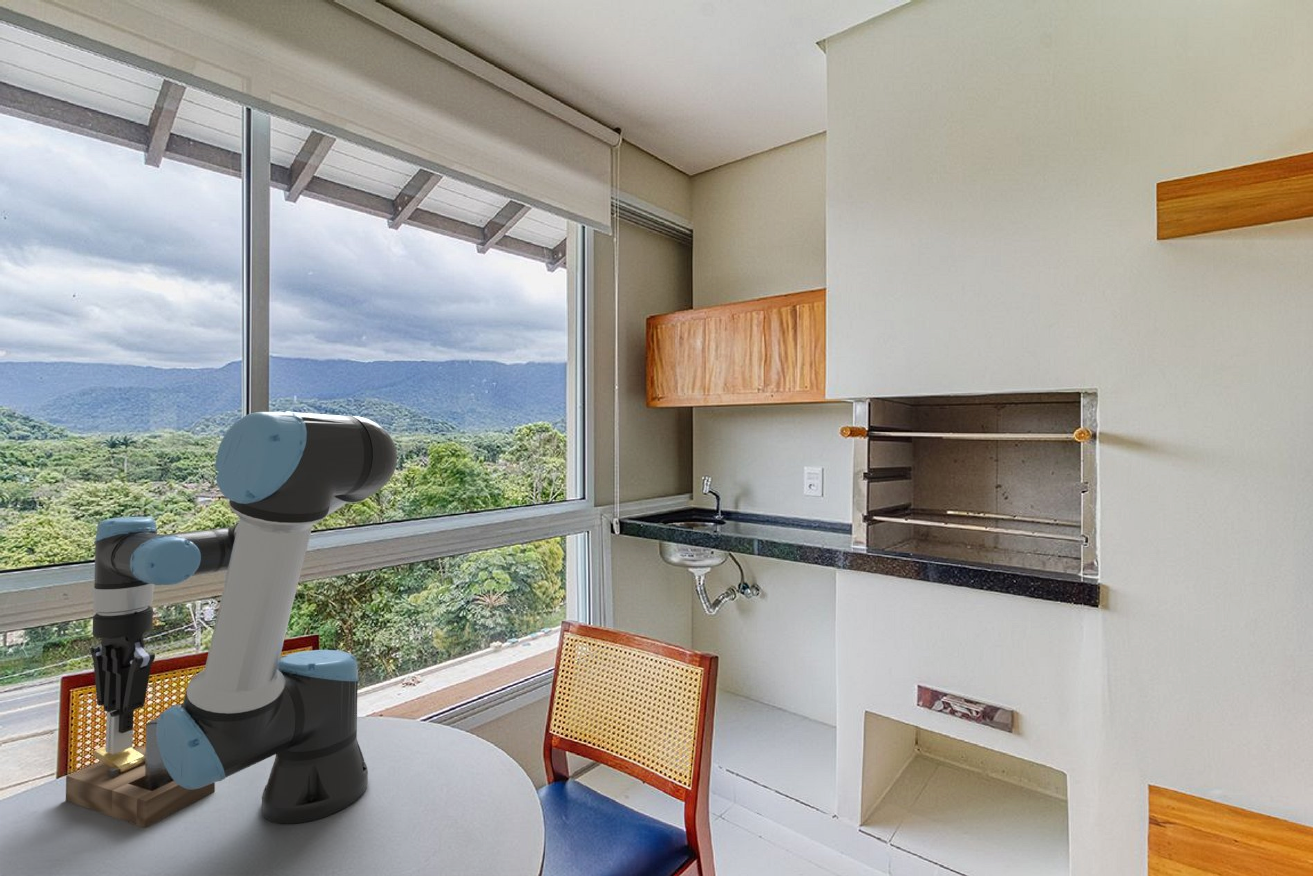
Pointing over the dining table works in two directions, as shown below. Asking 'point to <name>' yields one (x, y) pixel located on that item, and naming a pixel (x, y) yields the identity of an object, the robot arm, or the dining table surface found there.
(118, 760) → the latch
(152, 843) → the dining table surface
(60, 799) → the dining table surface
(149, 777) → the peg
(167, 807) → the block
